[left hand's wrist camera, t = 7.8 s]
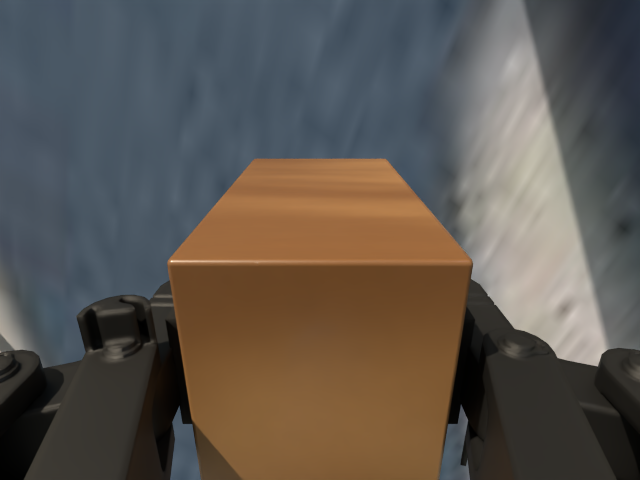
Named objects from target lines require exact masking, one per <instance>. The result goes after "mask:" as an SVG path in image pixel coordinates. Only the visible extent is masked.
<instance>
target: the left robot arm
mask: <svg viewBox="0 0 640 480" xmlns="http://www.w3.org/2000/svg"><path fill="white" fill-rule="evenodd" d="M487 295H488V294H487V293H486V292H485V291H484V289H483V288H482V287H481V286H480V284H478V283H476V282H475V281H473V280H472V279H471V280H470V287H469V293H468V299H467V306H466V312H465V318H464V325H463V331H462V337H461V344H460V350H459V356H458V363H457V369H456V375H455V382H454V388H453V394H452V401H451V407H450V414H449V420H448V424H458V418H459V412H460V406H461V405H462V407H463V409H464V412H465V414H466V416H467V418H468V425H467V430H466V436H465V441H464V447H463V452H462V458H461V465H464V466H466V463H467V458H468V466H469V474H470V480H640V351H639V350H634V349H623V348H616V349H609V350H607V351H606V352H604V353H603V354H602V356H601V359H600V362H599V365H598V367H597V366H592V365H587V364H582V363H577V362H572V361H567V360H563V359H559V358H557V356H556V354H555V352H554V351H553V350H552V348H551V347H550V346H549V345H548V344H547V343H546V342H544V341H543V340H541V339H540V338H539V337H537V336H535V335H532V334H530V333H527V332H525V331H521V330H516V329H514V328H513V326H512V325H511V324H510V323H509V321H508V320H507V319H506V317H505V316H504V315H503V314H502V312H501V311H500V310H499V309H498V307H497V306H496V305H494V302H493V301H492V300H491V298H490V297H488V296H487ZM76 317H77V321H78V324H79V328H80V332H81V336H82V339H83V343H84V347H85V351H86V353H85V355H84V357H83V359H82V360H81V361H77V362H73V363H68V364H63V365H58V366H52V367H47V368H43V367H42V364H41V361H40V358H39V356H38V355H37V354H36V353H34V352H33V351H26V350H16V351H6V352H2V353H0V480H170V475H171V467H172V459H173V450H174V442H175V437H174V430H173V425H172V421H173V419H174V417H175V414H176V412H177V410H178V407H179V405H180V411H181V417H182V422H183V424H192V418H191V412H190V405H189V399H188V393H187V386H186V380H185V373H184V367H183V361H182V354H181V348H180V342H179V335H178V329H177V323H176V316H175V310H174V303H173V297H172V291H171V284H170V280H169V281H168V282H166V283H165V284H163V285H161V286H160V288H159V289H158V290H157V291H156V293H155V294H154V295H153V298H151V299H150V300H148V299H146V298H145V297H142V296H137V295H120V296H115V297H109V298H106V299H103V300H100V301H97V302H95V303H93V304H91V305H89V306H88V307H86V308H84V309H83V310H82V311H81V312H80V313H79V314H78V315H77V316H76Z"/></svg>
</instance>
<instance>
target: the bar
mask: <svg viewBox="0 0 640 480" xmlns="http://www.w3.org/2000/svg"><path fill="white" fill-rule="evenodd" d="M167 265H168V272H169V278H170V284H171V291H172V297H173V303H174V310H175V316H176V323H177V329H178V335H179V342H180V348H181V354H182V361H183V367H184V373H185V380H186V386H187V393H188V399H189V405H190V412H191V418H192V424H193V431H194V437H195V444H196V450H197V456H198V463H199V469H200V475H201V480H439V477H440V471H441V464H442V458H443V452H444V445H445V439H446V433H447V426H448V420H449V414H450V407H451V401H452V394H453V388H454V382H455V375H456V369H457V363H458V356H459V350H460V344H461V337H462V331H463V325H464V318H465V312H466V306H467V299H468V293H469V287H470V280H471V274H472V268H473V262H472V260H471V258H470V257H469V256H468V255H467V254H466V252H465V251H464V250H463V249H462V248H461V247H460V245H459V244H458V243H457V242H456V241H455V240H454V238H453V237H452V236H451V235H450V234H449V232H448V231H447V230H446V229H445V228H444V227H443V225H442V224H441V223H440V222H439V221H438V220H437V218H436V217H435V216H434V215H433V214H432V212H431V211H430V210H429V209H428V208H427V207H426V205H425V204H424V203H423V202H422V201H421V200H420V198H419V197H418V196H417V195H416V194H415V192H414V191H413V190H412V189H411V188H410V187H409V185H408V184H407V183H406V182H405V181H404V180H403V178H402V177H401V176H400V175H399V174H398V172H397V171H396V170H395V169H394V168H393V167H392V165H391V164H390V163H389V162H388V161H387V160H386V159H254V160H253V161H252V162H251V163H250V165H249V166H248V167H247V168H246V169H245V171H244V172H243V173H242V174H241V175H240V176H239V178H238V179H237V180H236V181H235V182H234V183H233V185H232V186H231V187H230V188H229V189H228V191H227V192H226V193H225V194H224V195H223V196H222V198H221V199H220V200H219V201H218V202H217V203H216V205H215V206H214V207H213V208H212V209H211V210H210V212H209V213H208V214H207V215H206V216H205V218H204V219H203V220H202V221H201V222H200V223H199V225H198V226H197V227H196V228H195V229H194V230H193V232H192V233H191V234H190V235H189V236H188V238H187V239H186V240H185V241H184V242H183V243H182V245H181V246H180V247H179V248H178V249H177V250H176V252H175V253H174V254H173V255H172V256H171V258H170V259H169V260H168V263H167Z"/></svg>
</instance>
